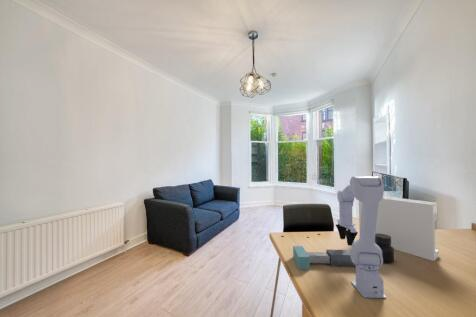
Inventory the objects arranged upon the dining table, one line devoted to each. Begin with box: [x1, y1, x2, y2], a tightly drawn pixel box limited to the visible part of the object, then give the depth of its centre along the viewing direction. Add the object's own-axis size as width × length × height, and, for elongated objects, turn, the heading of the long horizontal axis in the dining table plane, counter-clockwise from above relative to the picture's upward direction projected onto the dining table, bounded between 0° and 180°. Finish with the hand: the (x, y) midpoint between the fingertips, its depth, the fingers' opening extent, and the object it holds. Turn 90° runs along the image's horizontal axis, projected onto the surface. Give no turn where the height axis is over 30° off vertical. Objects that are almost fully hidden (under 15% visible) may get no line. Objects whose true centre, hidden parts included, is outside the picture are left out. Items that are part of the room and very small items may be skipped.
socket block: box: [292, 245, 311, 271], centre depth 98 cm, size 12×5×6 cm, turn 177°
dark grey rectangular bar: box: [326, 249, 355, 268], centre depth 97 cm, size 6×14×6 cm, turn 87°
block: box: [358, 195, 440, 262], centre depth 116 cm, size 35×8×28 cm, turn 33°
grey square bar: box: [306, 251, 330, 264], centre depth 97 cm, size 4×18×4 cm, turn 87°
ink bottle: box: [375, 234, 395, 264], centre depth 100 cm, size 10×9×12 cm
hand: (346, 242), depth 99 cm, fingers open, 7 cm apart
